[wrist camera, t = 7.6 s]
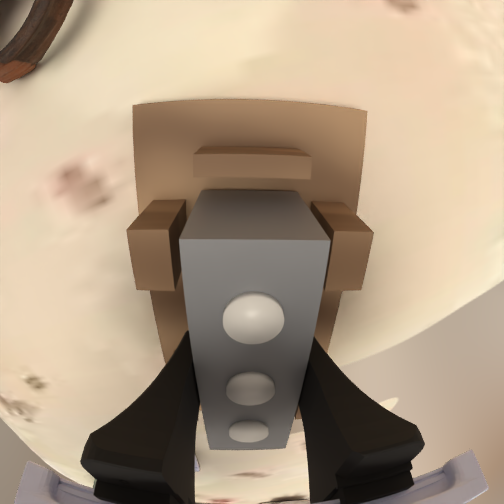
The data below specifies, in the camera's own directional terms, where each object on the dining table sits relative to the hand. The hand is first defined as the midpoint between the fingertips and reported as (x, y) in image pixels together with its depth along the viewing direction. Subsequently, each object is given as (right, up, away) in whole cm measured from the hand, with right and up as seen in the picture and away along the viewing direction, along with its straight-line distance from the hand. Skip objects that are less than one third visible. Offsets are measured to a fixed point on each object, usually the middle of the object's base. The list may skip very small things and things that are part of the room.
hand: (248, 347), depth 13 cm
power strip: (0, +1, +2) cm, 3 cm away
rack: (0, +2, +4) cm, 4 cm away
